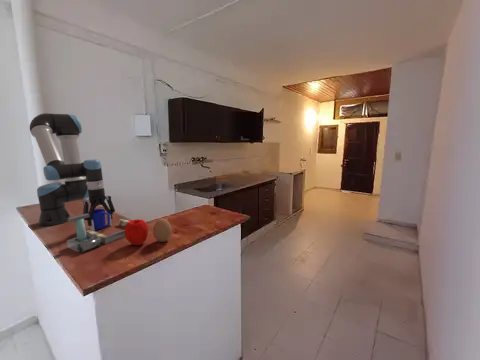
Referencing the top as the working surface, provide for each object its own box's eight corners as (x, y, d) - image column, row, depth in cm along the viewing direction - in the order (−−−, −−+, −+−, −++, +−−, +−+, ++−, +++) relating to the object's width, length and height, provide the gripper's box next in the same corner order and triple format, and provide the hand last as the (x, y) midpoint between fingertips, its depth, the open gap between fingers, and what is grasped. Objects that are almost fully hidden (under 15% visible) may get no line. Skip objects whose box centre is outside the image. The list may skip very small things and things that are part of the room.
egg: (163, 246, 104) (161, 222, 102) (150, 243, 108) (147, 220, 106) (176, 239, 112) (174, 216, 110) (163, 236, 115) (161, 214, 113)
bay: (85, 236, 117) (85, 231, 117) (122, 223, 134) (122, 218, 134) (105, 244, 108) (105, 238, 108) (142, 229, 125) (142, 224, 125)
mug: (105, 232, 123) (102, 214, 121) (86, 230, 125) (83, 213, 123) (116, 226, 130) (114, 209, 129) (98, 225, 133) (95, 208, 131)
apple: (125, 251, 101) (122, 224, 98) (126, 242, 110) (123, 217, 107) (149, 246, 104) (147, 221, 102) (149, 238, 113) (146, 214, 111)
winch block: (67, 247, 106) (66, 239, 105) (88, 240, 113) (87, 232, 112) (82, 254, 99) (80, 245, 98) (103, 245, 107) (102, 237, 106)
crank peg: (71, 246, 104) (66, 218, 102) (90, 239, 111) (86, 213, 109) (75, 248, 103) (70, 219, 100) (93, 241, 109) (90, 214, 107)
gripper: (77, 193, 113) (84, 236, 117) (119, 185, 131) (123, 222, 135) (69, 192, 116) (76, 233, 120) (111, 184, 135) (116, 220, 139)
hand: (101, 228), depth 128 cm, fingers open, 9 cm apart
